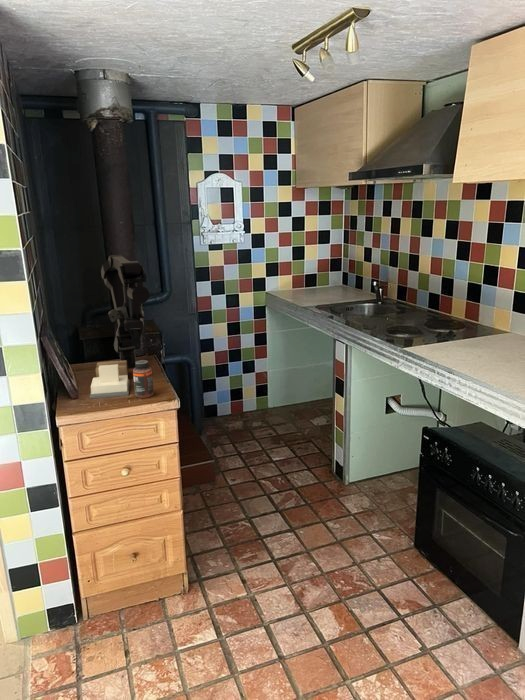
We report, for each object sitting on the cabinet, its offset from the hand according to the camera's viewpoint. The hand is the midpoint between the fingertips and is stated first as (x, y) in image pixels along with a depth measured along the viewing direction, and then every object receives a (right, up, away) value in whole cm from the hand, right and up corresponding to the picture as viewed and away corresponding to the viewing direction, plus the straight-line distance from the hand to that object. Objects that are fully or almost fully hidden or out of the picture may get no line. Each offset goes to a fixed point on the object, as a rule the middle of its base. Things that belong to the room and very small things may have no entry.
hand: (136, 342), depth 189 cm
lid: (-6, -15, -11) cm, 19 cm away
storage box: (-8, -12, +1) cm, 15 cm away
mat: (-6, -16, -11) cm, 20 cm away
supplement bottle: (+6, -17, -16) cm, 24 cm away
